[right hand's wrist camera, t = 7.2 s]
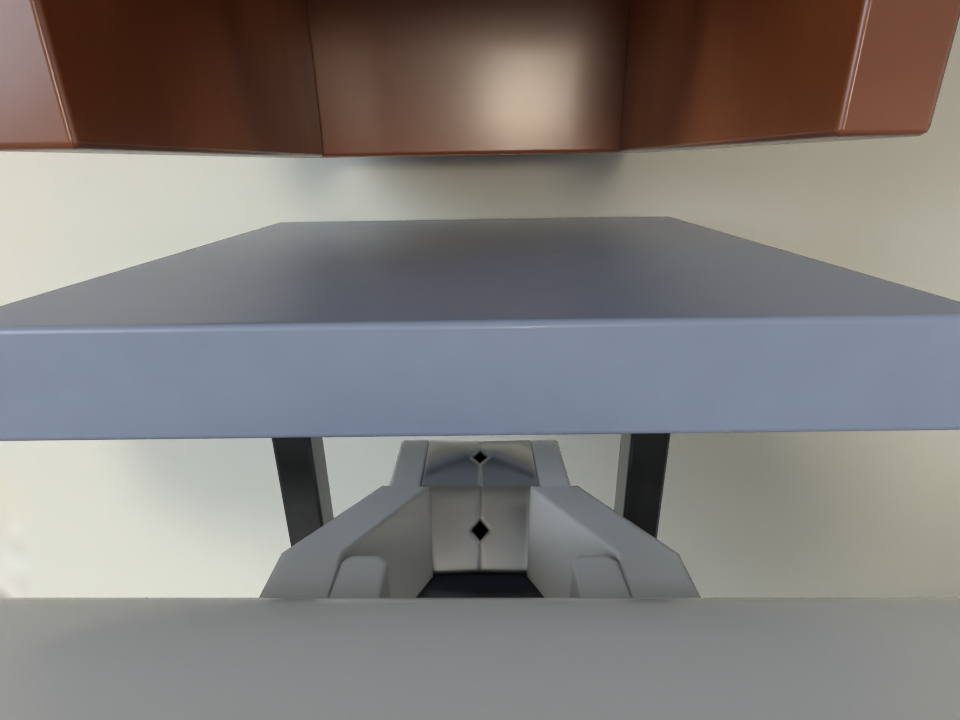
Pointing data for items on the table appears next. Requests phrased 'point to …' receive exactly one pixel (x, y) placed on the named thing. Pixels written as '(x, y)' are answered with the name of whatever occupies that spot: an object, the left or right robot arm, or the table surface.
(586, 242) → the drawer
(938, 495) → the table surface
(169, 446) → the table surface
